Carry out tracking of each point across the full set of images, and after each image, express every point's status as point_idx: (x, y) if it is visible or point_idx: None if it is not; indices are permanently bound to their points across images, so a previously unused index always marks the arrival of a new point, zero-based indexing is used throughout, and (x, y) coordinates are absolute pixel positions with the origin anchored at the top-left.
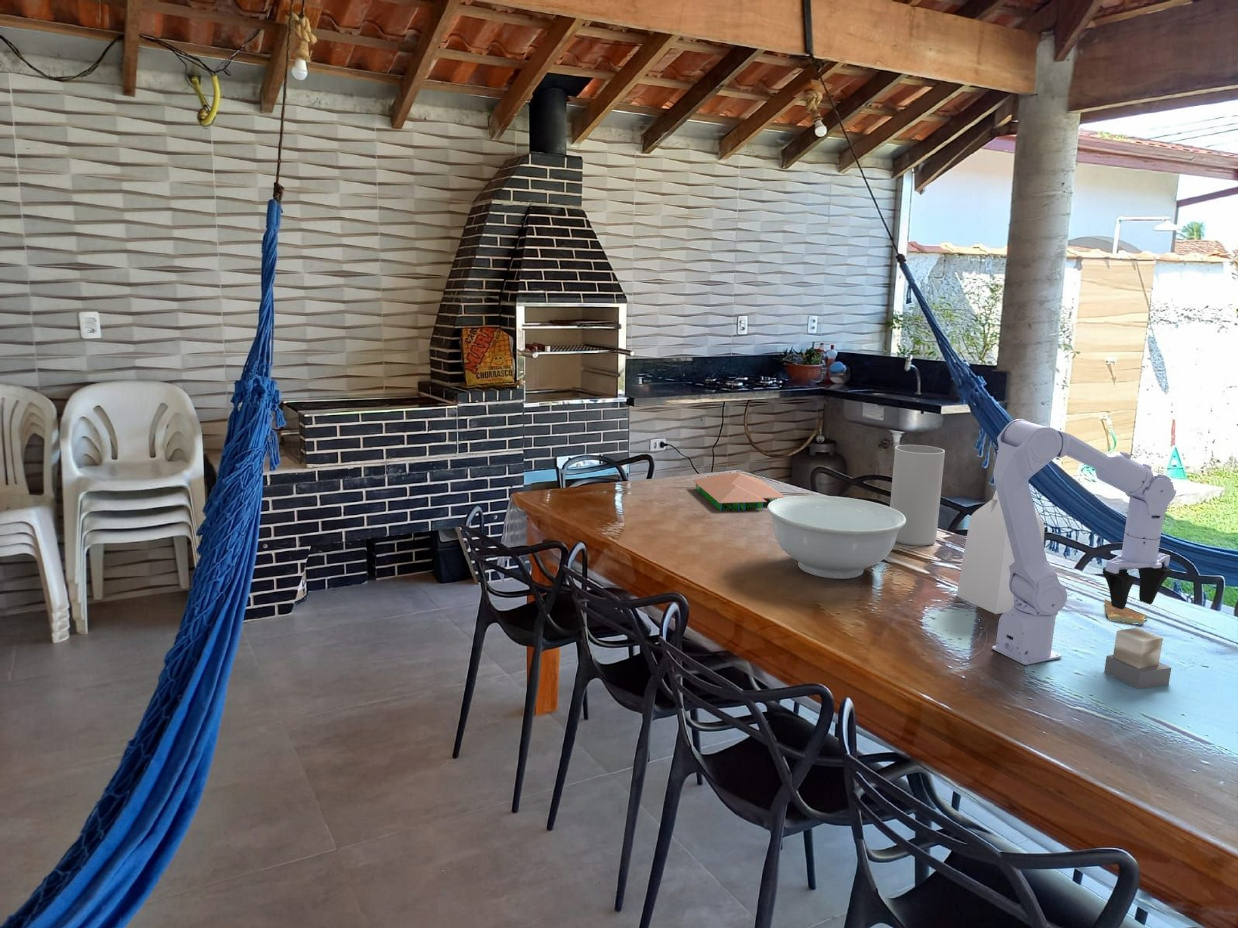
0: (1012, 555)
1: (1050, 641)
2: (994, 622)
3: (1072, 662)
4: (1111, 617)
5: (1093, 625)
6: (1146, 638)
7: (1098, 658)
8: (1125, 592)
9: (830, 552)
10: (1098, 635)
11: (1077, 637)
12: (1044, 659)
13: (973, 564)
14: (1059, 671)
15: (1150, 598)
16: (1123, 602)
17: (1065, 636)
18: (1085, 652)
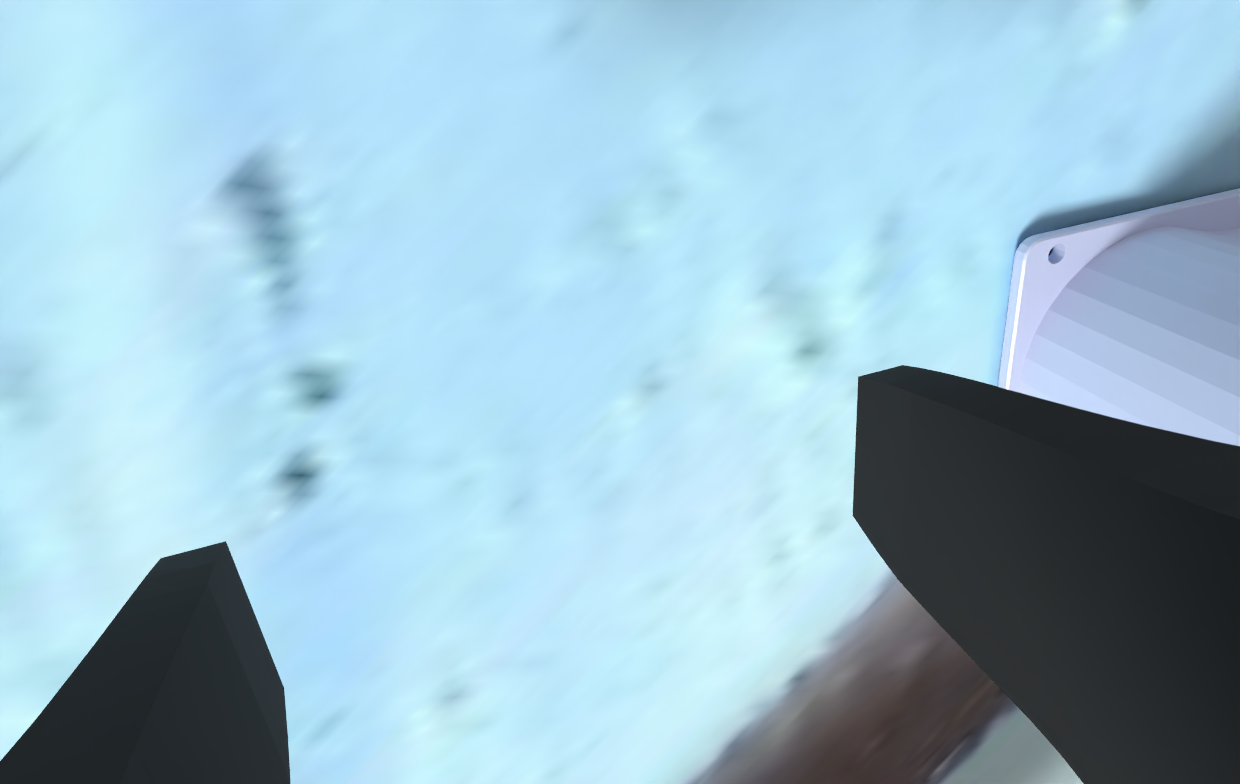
0: None
1: (1231, 273)
2: (903, 739)
3: (1006, 164)
4: None
5: (300, 750)
6: None
7: (779, 190)
8: (1235, 454)
9: None
10: (413, 583)
11: (610, 551)
12: (1172, 208)
13: None
14: (1202, 49)
15: (213, 621)
16: (1006, 392)
17: (679, 567)
18: (777, 307)
